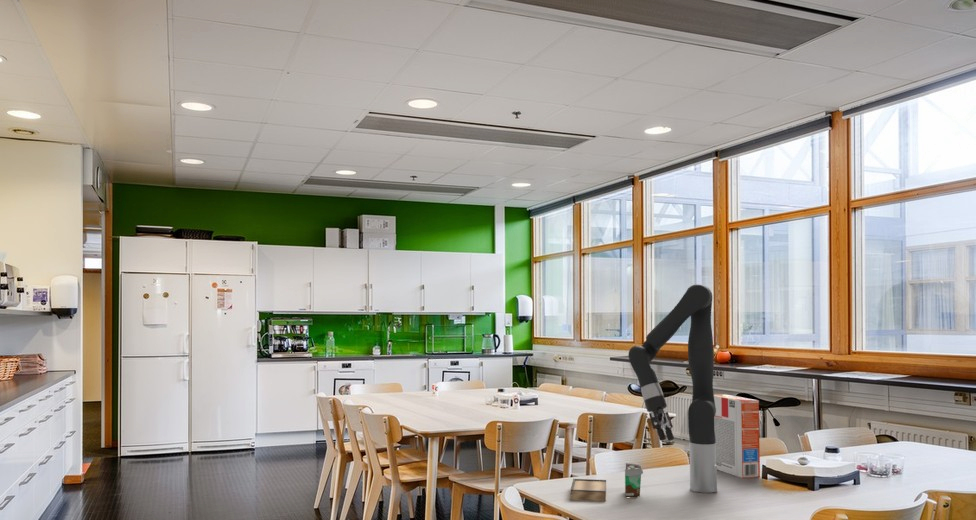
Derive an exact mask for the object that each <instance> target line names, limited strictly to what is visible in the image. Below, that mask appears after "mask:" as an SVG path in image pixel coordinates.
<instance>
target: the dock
mask: <svg viewBox="0 0 976 520" xmlns="http://www.w3.org/2000/svg"><path fill="white" fill-rule="evenodd" d="M606 498H607V479H592V478H590V479H589V478H573V479H572V482H571V486H570V501H589V502H591V501H593V502H606V501H607V499H606Z"/></svg>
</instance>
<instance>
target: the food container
mask: <svg viewBox="0 0 976 520" xmlns="http://www.w3.org/2000/svg"><path fill="white" fill-rule="evenodd" d="M643 470H644V469H643V467H642V465H639V464H635V463H630V462H629V463H626V462H625V469H624V488H625V489H624V494H625V496H624V498H625V497H635V498H638V496H639V497H640V496H641V484H642V483H641V481H642V475H643V474H644V471H643Z"/></svg>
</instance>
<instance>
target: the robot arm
mask: <svg viewBox="0 0 976 520" xmlns="http://www.w3.org/2000/svg"><path fill="white" fill-rule="evenodd" d="M712 304H713V293H712V291H711V289H710V288H709V287H708V286H706V285H704V284H700V283H695V284H692V285H690V286H689V287H688V288H687V289H686V291H685V292H684V294H683V295H682V296H681V298H680V300H679V302H678V303H676V305H675V306H674V308H673V309H672V310H671V311H670V312H669V313H668V314H667V315H666V316H665V317H664V318H663V319H662V320H661V321H660V322H659V323H657V324H656V325H655V327H654V328H653V329H651V331H650V332H649V333H648V334H647V335H646V337H645V338H646V340H645V341H644V342H643V343H642V345H634V346H631V348H630V349H629V351H628V359H629V360H628V361H629V363H630V365H631V367H632V369H633V371H634V373H635V375H636V378H637V381H638V384H639V387H640V391H641V395H642V399H643V402H644V405H645V407H646V412H648V415H649V418H650V422H651V426H652V429H654V430H655V431H656V432H657V435H658V439H659V441H660V442H661V441H666V439H667V441H673V440H674V439H675V438H674V434H673V430H672V428H673V427H674V426H673V422H672V421H671V417H670V414H669V412H668V411H666V412H665V411H664V409H666V408H667V406H668V405H667V402H666V399H665V395H664V393H663V390H662V387H661V385H660V383H659V379H658V376H657V373H656V372H655V370H654V369H653V368H652V367H651V365H650V363H651V362H652V361H653V359H654V358H655V357H656V356H657V355H658V353H659V351H660V350H661V348H663V346H664V345H666V343H667V342H669V340H671V338H673V336H674V335H675V334H676V333H677V332H678V330H679V329H680V328H681V327H682V325H683V324H684V323H685V322H686V321H687V320H688V319H689V318H690V328H689V332H688V333H689V334H688V341H687V342H688V343H687V358H688V359H687V360H688V361H687V362H688V368H689V372H690V377H691V382H692V397H691V399H692V400H691V403H690V404H689V406H688V410H687V411H688V412H687V420H688V421H687V422H688V423H687V424H688V425H687V427H688V429H687V430H688V436H689V489H690V491H692V492H695V493H703V494H704V493H706V494H708V493H709V494H710V493H718V469H717V465H716V437H715V431H714V416H715V414H716V407H715V400H714V395H715V394H714V369H715V367H714V366H715V365H714V364H715V353H714V339H713V338H714V337H713V330H712ZM664 431H665V432H664Z"/></svg>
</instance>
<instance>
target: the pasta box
mask: <svg viewBox="0 0 976 520" xmlns="http://www.w3.org/2000/svg"><path fill="white" fill-rule="evenodd" d="M714 400H715V407H716V414H715V416H714V431H715V437H716V465H717V471H721V472H724V473H727V474H730V475H733V476H735V477H738V478H741V479H749V478H760V477H761V463H760V461H761V460H760V459H761V455H760V452H761V450H760V406H759V405H760V400H758V399H752V398H747V397H742V396H737V395H730V394H721V393H719V394H714Z"/></svg>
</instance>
